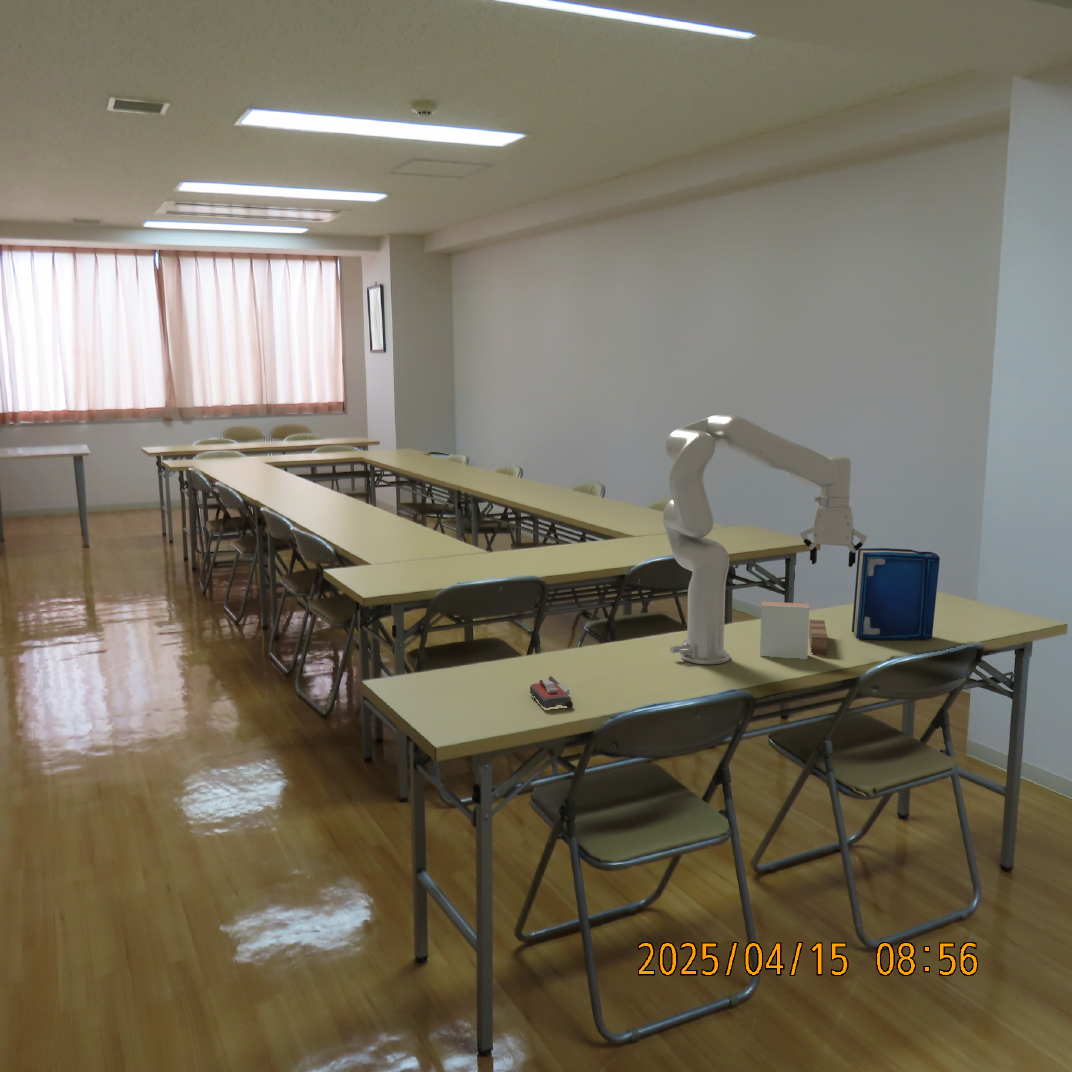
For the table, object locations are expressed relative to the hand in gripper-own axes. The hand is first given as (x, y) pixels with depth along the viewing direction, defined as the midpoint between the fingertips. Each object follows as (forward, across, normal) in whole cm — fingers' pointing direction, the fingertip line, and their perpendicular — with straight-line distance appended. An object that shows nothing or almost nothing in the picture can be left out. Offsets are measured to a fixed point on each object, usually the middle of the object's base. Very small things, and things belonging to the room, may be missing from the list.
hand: (832, 564), depth 252 cm
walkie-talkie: (+22, -51, -70) cm, 90 cm away
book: (+22, +15, +13) cm, 30 cm away
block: (+22, -3, -3) cm, 23 cm away
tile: (+22, -9, -17) cm, 29 cm away
